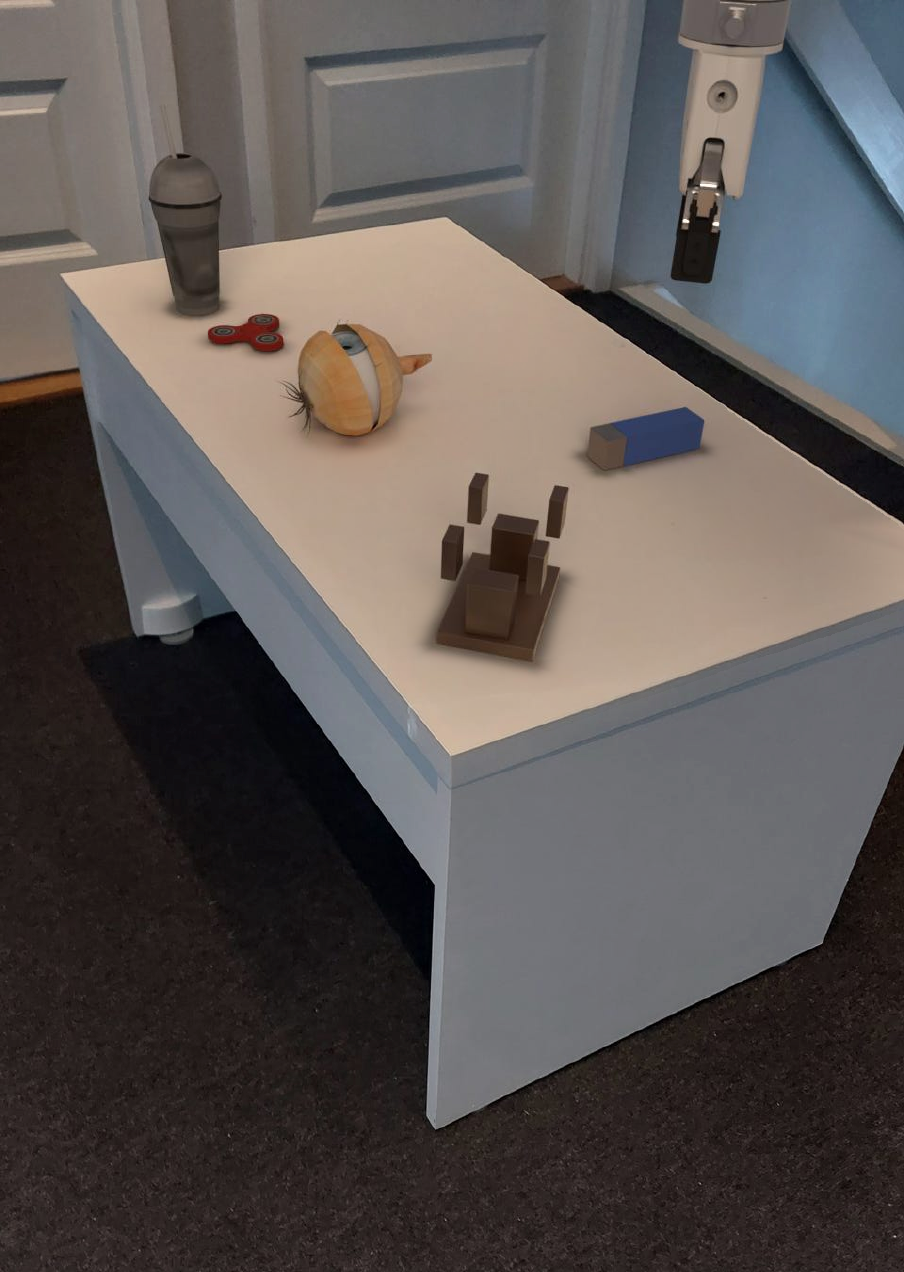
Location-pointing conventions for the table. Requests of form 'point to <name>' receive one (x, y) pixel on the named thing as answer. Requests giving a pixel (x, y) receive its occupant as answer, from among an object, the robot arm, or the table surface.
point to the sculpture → (351, 379)
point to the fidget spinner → (250, 333)
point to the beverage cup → (188, 227)
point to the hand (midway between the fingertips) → (692, 259)
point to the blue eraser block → (645, 438)
